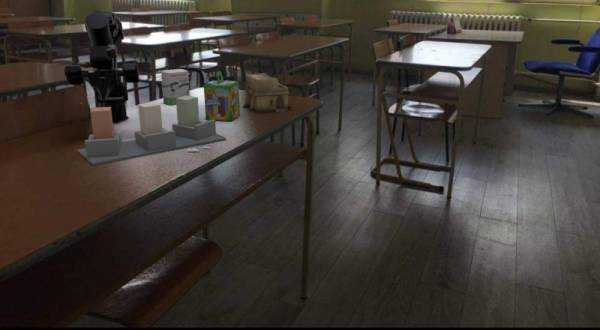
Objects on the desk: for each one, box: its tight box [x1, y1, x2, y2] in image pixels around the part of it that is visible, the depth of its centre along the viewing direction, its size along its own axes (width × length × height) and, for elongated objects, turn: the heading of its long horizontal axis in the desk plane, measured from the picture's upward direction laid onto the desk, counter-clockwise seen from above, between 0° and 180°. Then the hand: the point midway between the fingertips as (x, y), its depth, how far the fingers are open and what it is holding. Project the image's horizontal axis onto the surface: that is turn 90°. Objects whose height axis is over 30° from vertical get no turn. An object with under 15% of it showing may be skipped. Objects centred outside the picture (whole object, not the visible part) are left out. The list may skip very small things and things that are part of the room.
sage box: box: [175, 95, 200, 127], centre depth 142 cm, size 4×4×10 cm
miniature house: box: [243, 72, 291, 113], centre depth 174 cm, size 15×14×11 cm
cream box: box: [137, 101, 163, 135], centre depth 133 cm, size 4×4×10 cm
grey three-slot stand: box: [77, 120, 227, 166], centre depth 134 cm, size 14×36×5 cm, turn 128°
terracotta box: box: [89, 106, 115, 140], centre depth 128 cm, size 4×4×10 cm
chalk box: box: [203, 70, 241, 122], centre depth 161 cm, size 9×9×15 cm
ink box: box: [161, 68, 191, 106], centre depth 181 cm, size 9×5×12 cm, turn 134°
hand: (103, 99), depth 135 cm, fingers closed
